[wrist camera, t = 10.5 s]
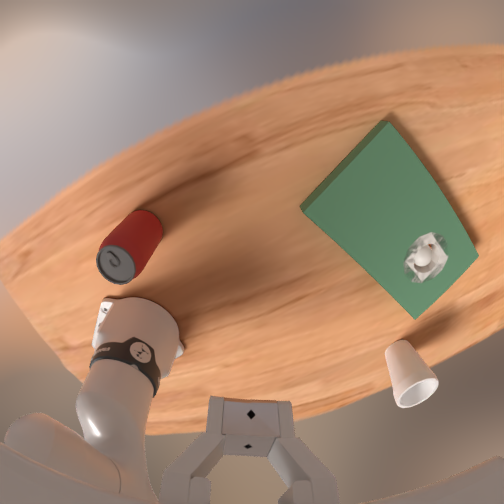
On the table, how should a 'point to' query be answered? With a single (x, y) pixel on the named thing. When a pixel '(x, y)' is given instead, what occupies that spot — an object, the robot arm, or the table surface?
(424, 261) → the ball
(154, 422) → the table surface
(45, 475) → the robot arm
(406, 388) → the foam cup
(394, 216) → the green rectangular slab
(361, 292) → the table surface
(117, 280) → the beer can
